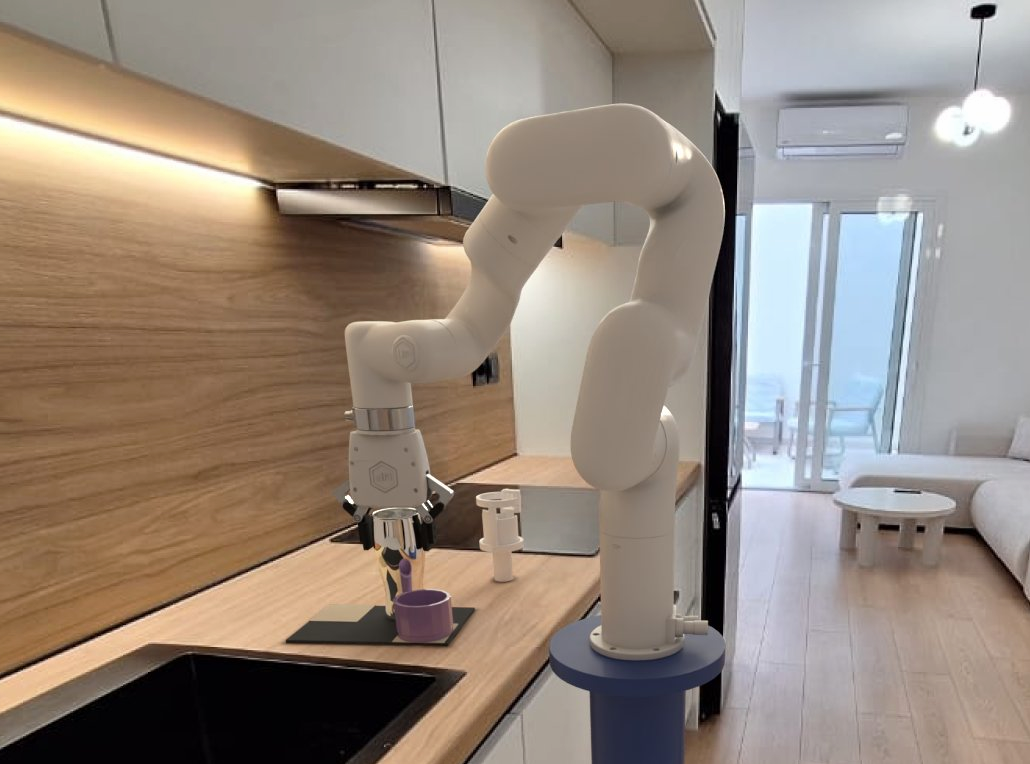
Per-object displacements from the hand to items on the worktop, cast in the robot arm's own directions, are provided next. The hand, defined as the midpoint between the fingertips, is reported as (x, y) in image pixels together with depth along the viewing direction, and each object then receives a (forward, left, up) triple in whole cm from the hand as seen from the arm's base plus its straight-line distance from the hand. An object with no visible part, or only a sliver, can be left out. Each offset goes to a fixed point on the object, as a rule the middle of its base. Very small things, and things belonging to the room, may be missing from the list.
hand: (399, 547), depth 114 cm
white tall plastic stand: (-10, -18, -11) cm, 24 cm away
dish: (-5, +7, -10) cm, 13 cm away
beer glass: (0, 0, -10) cm, 10 cm away
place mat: (+2, +4, -10) cm, 11 cm away
